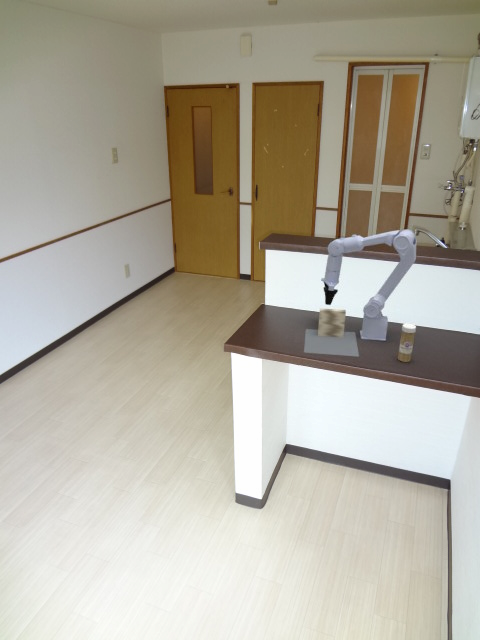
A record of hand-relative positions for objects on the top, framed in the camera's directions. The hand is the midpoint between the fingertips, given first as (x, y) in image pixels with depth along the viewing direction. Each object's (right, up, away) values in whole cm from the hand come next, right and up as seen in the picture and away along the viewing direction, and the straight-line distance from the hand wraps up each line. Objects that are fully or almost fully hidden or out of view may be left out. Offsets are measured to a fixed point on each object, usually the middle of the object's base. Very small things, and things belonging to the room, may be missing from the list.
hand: (327, 301), depth 188 cm
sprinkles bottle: (+23, -22, -22) cm, 39 cm away
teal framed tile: (0, -14, -4) cm, 15 cm away
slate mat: (-1, -17, -9) cm, 19 cm away
